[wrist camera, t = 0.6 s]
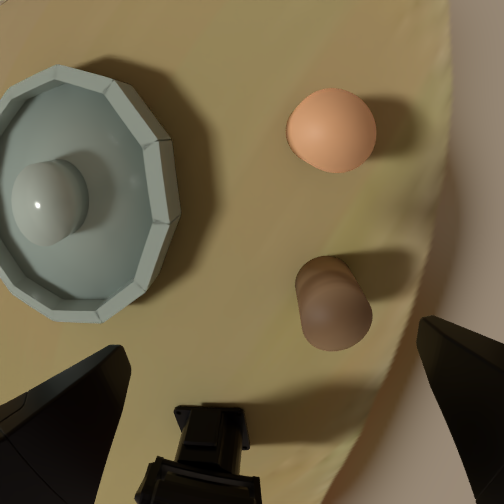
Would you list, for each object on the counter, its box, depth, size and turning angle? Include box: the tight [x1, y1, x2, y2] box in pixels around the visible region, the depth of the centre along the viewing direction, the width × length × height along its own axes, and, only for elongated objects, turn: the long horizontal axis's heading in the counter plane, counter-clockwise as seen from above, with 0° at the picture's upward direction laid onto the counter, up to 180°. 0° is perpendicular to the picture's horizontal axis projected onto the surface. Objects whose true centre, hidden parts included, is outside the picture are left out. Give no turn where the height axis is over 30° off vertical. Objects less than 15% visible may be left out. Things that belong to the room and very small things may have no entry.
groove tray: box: [0, 65, 181, 323], centre depth 19 cm, size 18×18×3 cm
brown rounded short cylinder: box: [295, 256, 372, 351], centre depth 19 cm, size 4×4×5 cm
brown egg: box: [286, 88, 376, 173], centre depth 16 cm, size 4×4×5 cm
